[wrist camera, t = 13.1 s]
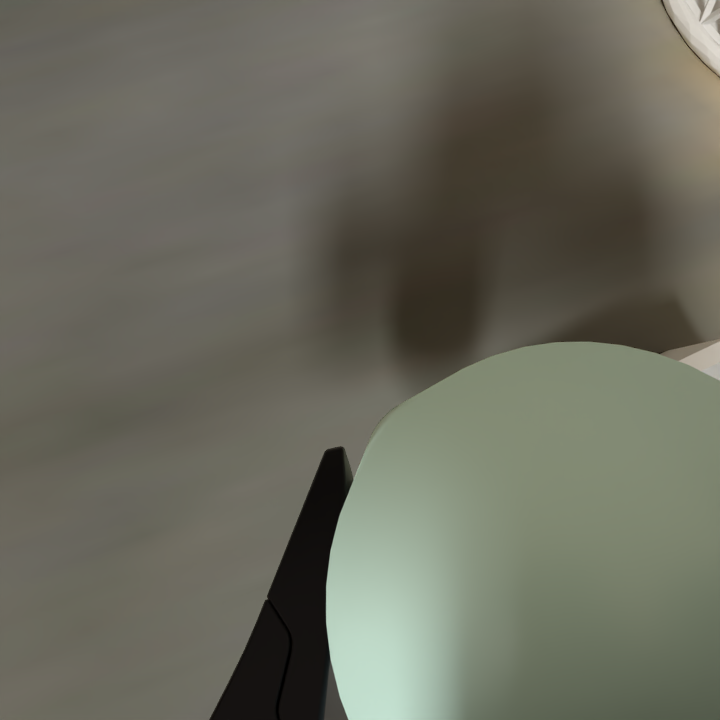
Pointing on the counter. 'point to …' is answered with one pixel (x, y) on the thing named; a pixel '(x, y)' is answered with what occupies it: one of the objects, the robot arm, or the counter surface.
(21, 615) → the counter surface
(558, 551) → the canister
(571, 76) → the counter surface
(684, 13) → the wastebasket
